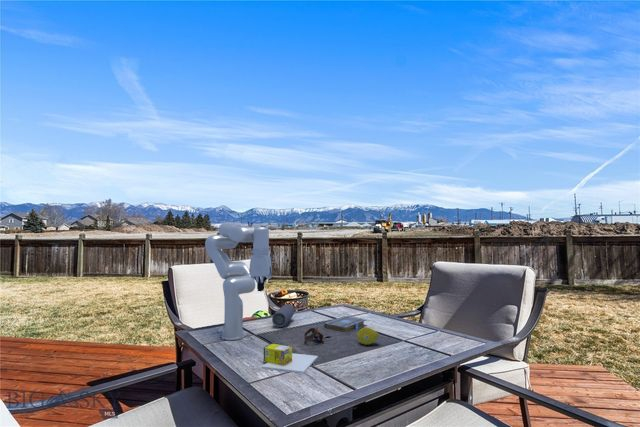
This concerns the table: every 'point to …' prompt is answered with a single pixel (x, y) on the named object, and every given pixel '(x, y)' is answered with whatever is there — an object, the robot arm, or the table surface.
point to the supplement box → (278, 354)
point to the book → (344, 324)
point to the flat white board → (294, 363)
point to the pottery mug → (313, 334)
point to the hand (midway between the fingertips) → (260, 290)
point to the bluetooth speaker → (283, 315)
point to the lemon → (367, 336)
